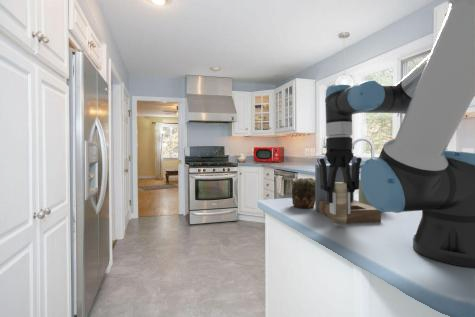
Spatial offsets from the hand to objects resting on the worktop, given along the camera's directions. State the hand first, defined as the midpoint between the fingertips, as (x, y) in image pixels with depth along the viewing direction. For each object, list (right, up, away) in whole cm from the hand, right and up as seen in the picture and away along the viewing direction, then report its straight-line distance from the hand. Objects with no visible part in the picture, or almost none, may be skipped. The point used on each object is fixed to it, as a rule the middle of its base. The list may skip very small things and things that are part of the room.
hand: (339, 213), depth 83 cm
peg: (0, -3, 0) cm, 3 cm away
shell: (-3, -3, +30) cm, 30 cm away
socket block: (+8, -4, +14) cm, 16 cm away
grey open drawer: (+7, -4, +20) cm, 21 cm away
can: (+22, -3, +24) cm, 33 cm away
